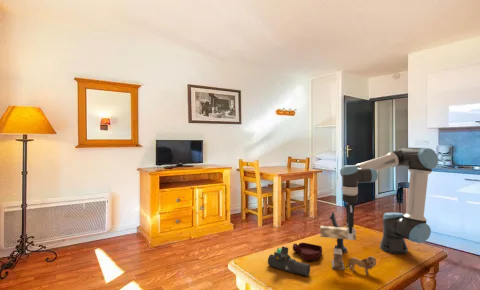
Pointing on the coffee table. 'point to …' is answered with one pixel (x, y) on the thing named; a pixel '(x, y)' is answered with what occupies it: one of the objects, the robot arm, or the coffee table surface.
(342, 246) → the antler
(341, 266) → the pedestal
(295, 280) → the coffee table surface
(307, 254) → the ashtray
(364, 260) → the lion figurine
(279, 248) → the candy
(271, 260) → the laser sight
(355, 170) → the robot arm
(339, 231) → the block
